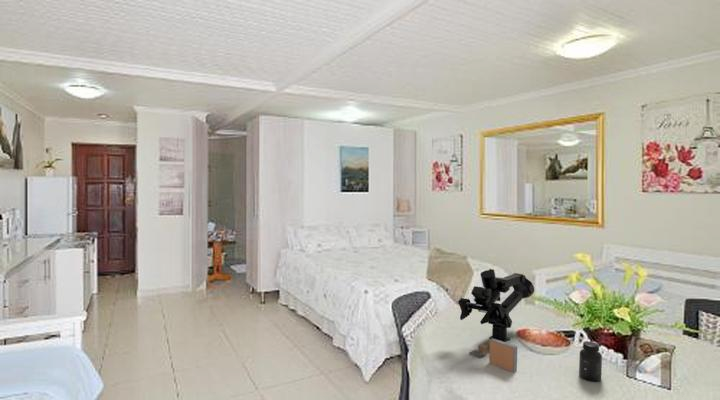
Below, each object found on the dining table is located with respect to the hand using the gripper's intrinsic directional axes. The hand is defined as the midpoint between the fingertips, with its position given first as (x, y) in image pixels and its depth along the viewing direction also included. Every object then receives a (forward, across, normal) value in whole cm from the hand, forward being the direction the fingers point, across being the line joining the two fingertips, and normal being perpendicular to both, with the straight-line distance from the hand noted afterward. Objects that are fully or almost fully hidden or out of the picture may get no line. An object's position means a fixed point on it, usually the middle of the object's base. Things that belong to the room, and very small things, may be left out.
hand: (470, 321), depth 163 cm
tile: (+6, +13, +13) cm, 20 cm away
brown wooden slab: (-1, +1, +15) cm, 15 cm away
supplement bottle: (-6, +38, +21) cm, 44 cm away
